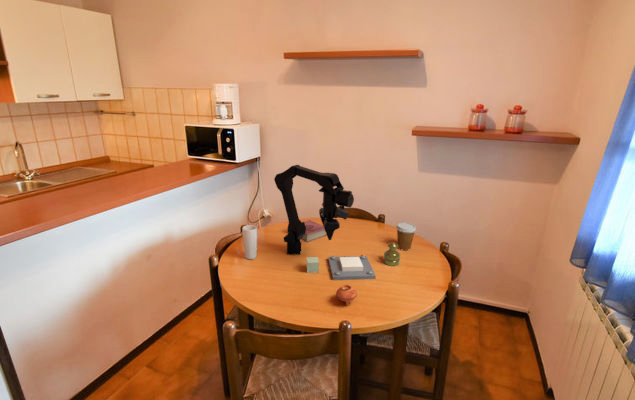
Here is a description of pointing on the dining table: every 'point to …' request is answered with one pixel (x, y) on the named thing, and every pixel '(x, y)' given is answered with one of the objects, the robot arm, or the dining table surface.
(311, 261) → the sage brick
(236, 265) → the dining table surface
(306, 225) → the book
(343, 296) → the pot
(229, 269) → the dining table surface
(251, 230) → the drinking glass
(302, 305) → the dining table surface
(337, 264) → the tower base
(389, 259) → the green tiered ornament
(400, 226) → the disposable coffee cup
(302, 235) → the robot arm
